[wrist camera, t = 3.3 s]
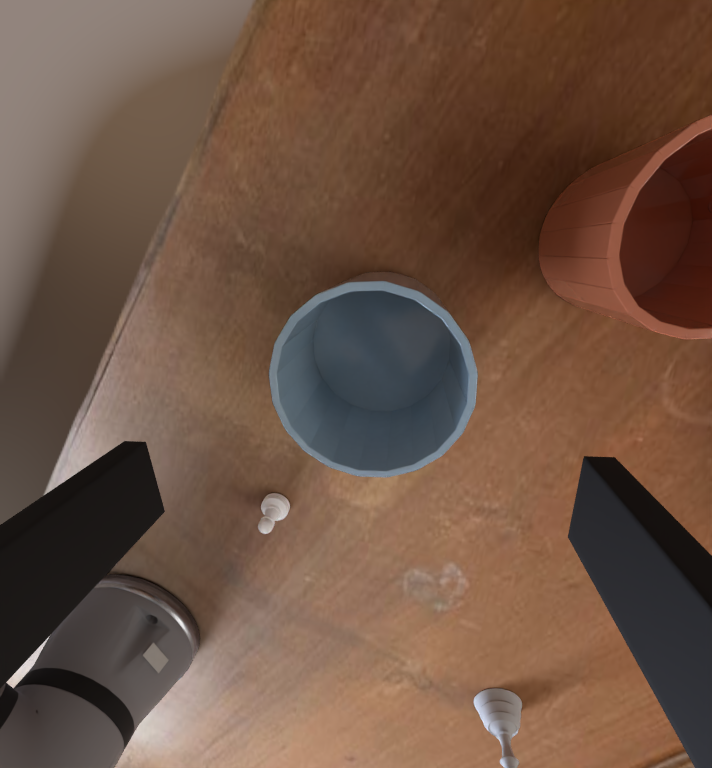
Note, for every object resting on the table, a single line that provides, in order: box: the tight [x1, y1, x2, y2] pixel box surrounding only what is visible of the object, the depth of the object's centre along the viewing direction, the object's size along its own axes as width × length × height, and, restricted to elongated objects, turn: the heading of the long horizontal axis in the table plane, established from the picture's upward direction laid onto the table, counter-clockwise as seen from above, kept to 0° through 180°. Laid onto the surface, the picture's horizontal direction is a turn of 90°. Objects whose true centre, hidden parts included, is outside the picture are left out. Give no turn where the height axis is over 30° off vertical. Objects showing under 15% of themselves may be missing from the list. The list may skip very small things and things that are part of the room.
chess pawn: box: [258, 493, 290, 534], centre depth 32 cm, size 3×3×4 cm
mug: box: [538, 114, 712, 339], centre depth 19 cm, size 12×9×9 cm
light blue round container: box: [269, 272, 478, 477], centre depth 23 cm, size 11×11×9 cm
